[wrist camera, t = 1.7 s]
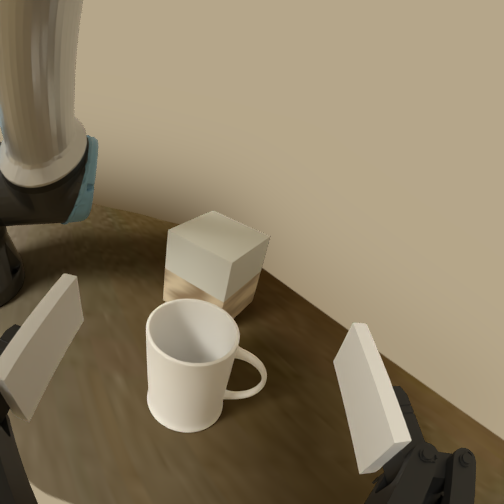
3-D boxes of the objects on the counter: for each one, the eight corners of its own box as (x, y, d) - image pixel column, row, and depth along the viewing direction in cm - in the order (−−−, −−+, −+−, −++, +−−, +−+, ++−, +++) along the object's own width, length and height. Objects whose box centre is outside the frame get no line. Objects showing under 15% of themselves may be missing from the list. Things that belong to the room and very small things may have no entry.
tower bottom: (163, 300, 45) (165, 268, 42) (202, 274, 53) (207, 244, 50) (216, 334, 42) (223, 302, 39) (252, 301, 50) (260, 270, 47)
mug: (256, 391, 35) (284, 321, 29) (241, 451, 27) (271, 393, 21) (163, 362, 35) (166, 286, 30) (135, 415, 28) (125, 345, 22)
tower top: (165, 268, 42) (168, 229, 39) (207, 244, 50) (213, 210, 47) (223, 302, 39) (232, 263, 36) (260, 271, 47) (270, 236, 44)
